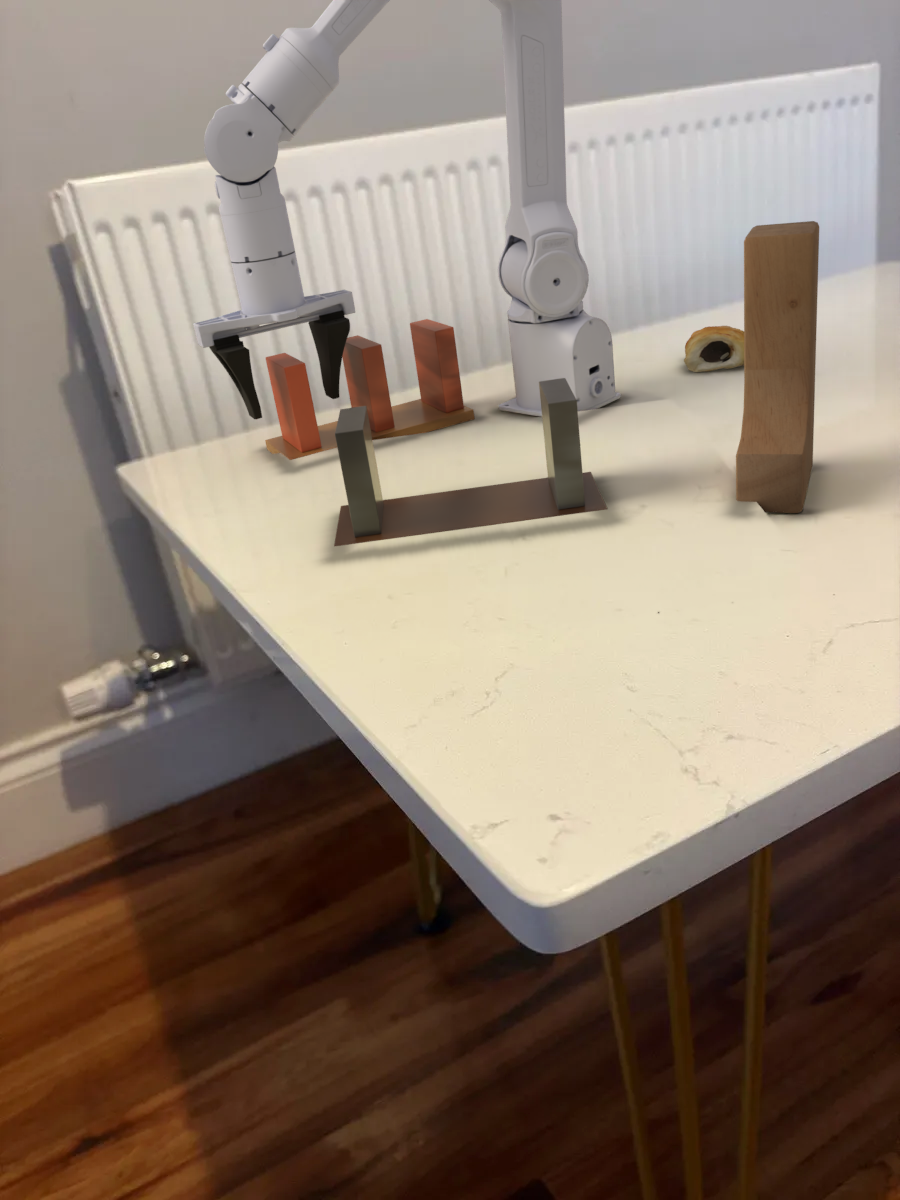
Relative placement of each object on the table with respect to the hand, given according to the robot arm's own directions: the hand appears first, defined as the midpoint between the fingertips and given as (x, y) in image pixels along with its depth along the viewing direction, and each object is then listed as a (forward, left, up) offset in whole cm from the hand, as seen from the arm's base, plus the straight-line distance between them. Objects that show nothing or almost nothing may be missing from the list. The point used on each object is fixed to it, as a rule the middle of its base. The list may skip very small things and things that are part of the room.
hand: (294, 406), depth 96 cm
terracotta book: (0, 0, -4) cm, 4 cm away
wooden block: (-43, -11, -5) cm, 45 cm away
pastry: (-20, -39, -5) cm, 44 cm away
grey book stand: (-26, +4, -5) cm, 27 cm away
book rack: (-2, -7, -5) cm, 9 cm away
